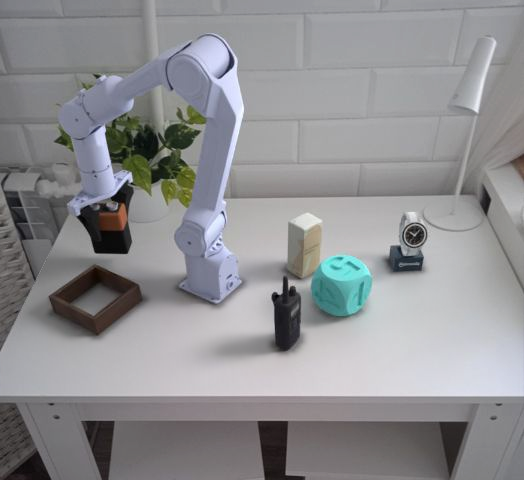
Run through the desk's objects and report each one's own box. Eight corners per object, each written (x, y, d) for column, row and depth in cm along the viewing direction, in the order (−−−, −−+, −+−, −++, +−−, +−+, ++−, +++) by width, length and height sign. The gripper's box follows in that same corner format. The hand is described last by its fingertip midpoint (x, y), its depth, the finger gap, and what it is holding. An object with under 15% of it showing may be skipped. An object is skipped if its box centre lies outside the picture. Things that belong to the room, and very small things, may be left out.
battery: (128, 255, 121) (118, 210, 114) (94, 254, 121) (82, 210, 114) (133, 242, 124) (124, 198, 117) (99, 241, 124) (88, 197, 117)
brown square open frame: (142, 300, 116) (139, 284, 114) (98, 335, 110) (93, 319, 107) (98, 279, 121) (94, 263, 118) (53, 312, 114) (47, 296, 112)
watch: (395, 278, 119) (402, 229, 111) (386, 253, 125) (393, 205, 117) (424, 276, 119) (433, 227, 111) (414, 251, 125) (423, 203, 117)
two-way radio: (287, 354, 105) (287, 284, 94) (265, 345, 107) (263, 275, 96) (303, 335, 108) (305, 265, 98) (281, 326, 110) (281, 257, 100)
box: (301, 279, 119) (302, 230, 112) (286, 269, 122) (286, 221, 114) (320, 268, 122) (323, 219, 114) (305, 258, 124) (307, 210, 116)
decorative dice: (344, 323, 110) (347, 287, 105) (309, 304, 114) (310, 269, 109) (370, 301, 114) (375, 265, 109) (335, 283, 118) (338, 248, 113)
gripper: (107, 143, 116) (121, 207, 125) (48, 176, 107) (67, 242, 117) (135, 153, 113) (147, 217, 122) (76, 187, 104) (93, 254, 114)
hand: (109, 230), depth 119 cm, fingers closed on battery, 6 cm apart
